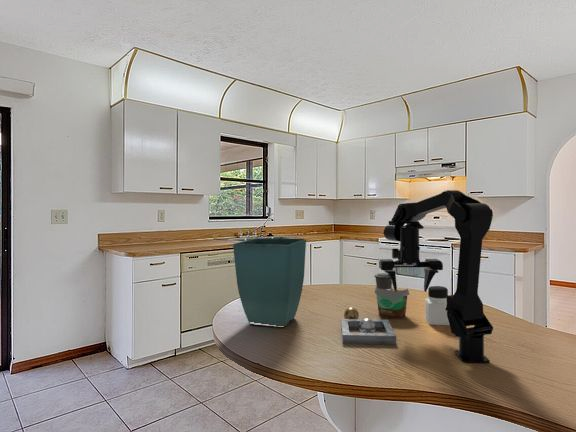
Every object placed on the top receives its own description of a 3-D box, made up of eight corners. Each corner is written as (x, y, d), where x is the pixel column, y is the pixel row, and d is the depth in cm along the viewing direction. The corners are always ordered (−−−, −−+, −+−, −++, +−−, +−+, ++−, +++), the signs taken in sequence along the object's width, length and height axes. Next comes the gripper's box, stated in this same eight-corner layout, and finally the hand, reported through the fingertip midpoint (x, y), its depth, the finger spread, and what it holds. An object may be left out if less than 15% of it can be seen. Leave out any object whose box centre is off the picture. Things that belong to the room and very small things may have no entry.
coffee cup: (371, 295, 159) (370, 273, 159) (387, 293, 162) (386, 271, 161) (381, 299, 151) (380, 276, 151) (397, 298, 154) (397, 274, 154)
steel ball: (376, 338, 108) (376, 321, 107) (359, 337, 108) (359, 320, 108) (374, 332, 113) (374, 316, 112) (358, 331, 113) (358, 315, 113)
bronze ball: (359, 324, 120) (359, 309, 120) (344, 324, 121) (344, 309, 120) (358, 320, 125) (358, 305, 125) (343, 319, 125) (343, 305, 125)
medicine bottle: (452, 326, 117) (451, 289, 117) (429, 325, 118) (428, 288, 118) (447, 319, 124) (446, 284, 124) (425, 318, 125) (424, 284, 125)
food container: (370, 317, 128) (370, 289, 128) (375, 312, 134) (374, 285, 133) (406, 321, 122) (406, 292, 122) (409, 316, 128) (409, 288, 128)
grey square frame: (396, 344, 102) (396, 336, 102) (342, 343, 104) (342, 334, 104) (388, 327, 117) (387, 319, 117) (341, 326, 119) (341, 318, 119)
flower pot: (291, 334, 112) (289, 244, 112) (233, 328, 119) (231, 243, 118) (308, 315, 131) (306, 238, 131) (258, 311, 138) (256, 238, 137)
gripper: (432, 240, 122) (433, 286, 122) (376, 240, 124) (377, 285, 124) (443, 243, 111) (443, 293, 111) (381, 244, 113) (382, 293, 113)
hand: (410, 291), depth 115 cm, fingers open, 9 cm apart
